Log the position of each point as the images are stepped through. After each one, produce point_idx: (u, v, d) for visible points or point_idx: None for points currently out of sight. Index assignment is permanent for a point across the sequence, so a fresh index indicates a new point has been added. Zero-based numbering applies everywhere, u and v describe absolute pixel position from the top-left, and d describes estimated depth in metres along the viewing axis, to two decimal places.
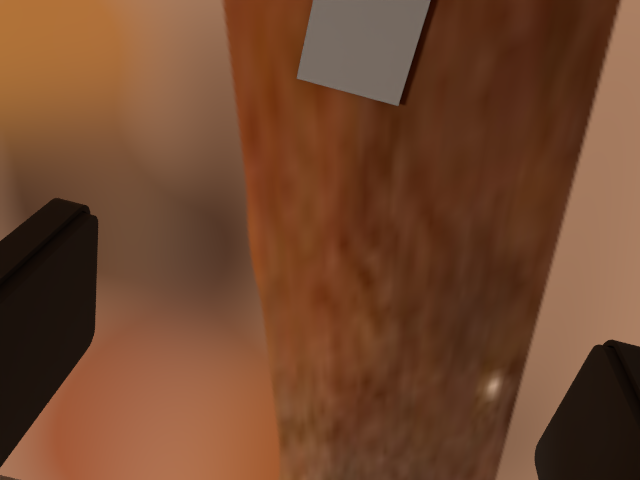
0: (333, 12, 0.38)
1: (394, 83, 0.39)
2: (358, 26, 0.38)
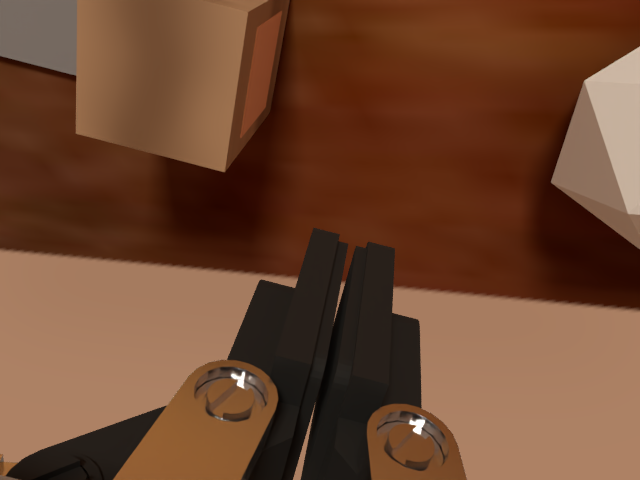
0: None
1: None
2: None
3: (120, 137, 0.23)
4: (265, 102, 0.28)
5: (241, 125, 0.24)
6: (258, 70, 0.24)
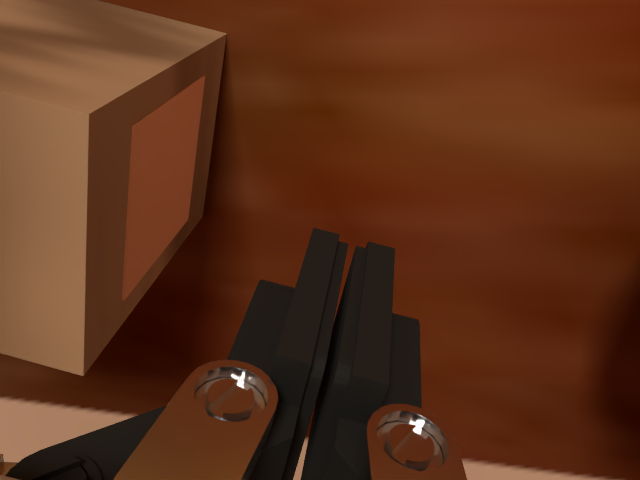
0: None
1: None
2: None
3: None
4: (186, 213, 0.18)
5: (121, 283, 0.14)
6: (153, 186, 0.14)
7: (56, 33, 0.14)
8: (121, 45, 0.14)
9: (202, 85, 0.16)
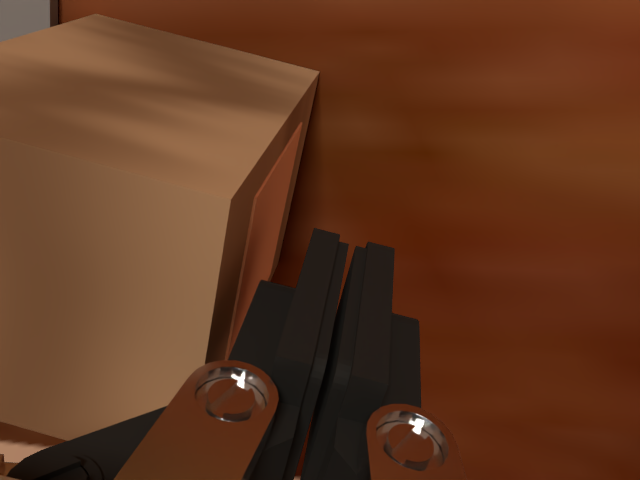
0: None
1: None
2: None
3: None
4: (270, 267, 0.16)
5: None
6: (257, 252, 0.13)
7: (152, 82, 0.12)
8: (224, 95, 0.12)
9: (299, 132, 0.14)
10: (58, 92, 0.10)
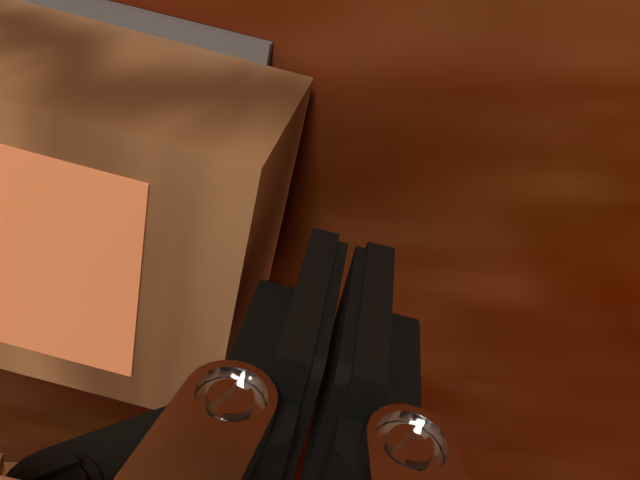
0: None
1: None
2: None
3: None
4: (122, 362, 0.12)
5: None
6: None
7: (95, 64, 0.12)
8: (79, 86, 0.11)
9: (138, 194, 0.10)
10: (38, 33, 0.13)
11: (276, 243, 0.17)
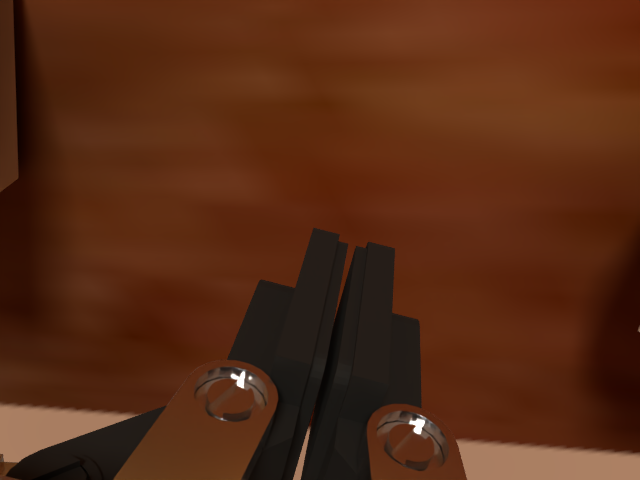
0: None
1: None
2: None
3: None
4: None
5: None
6: None
7: None
8: None
9: None
10: None
11: (15, 145, 0.19)
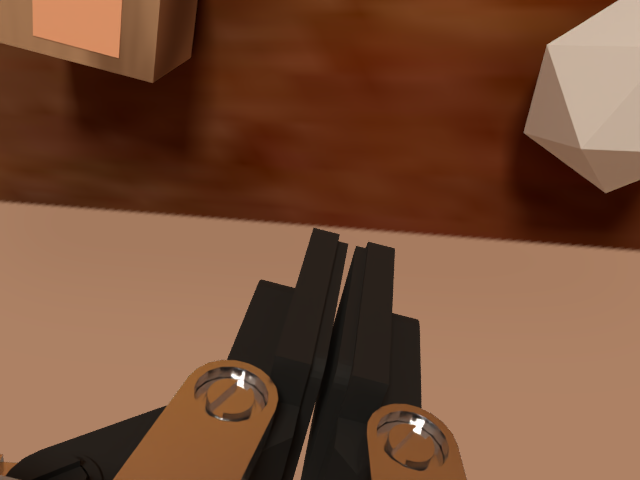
0: None
1: None
2: None
3: None
4: (115, 50, 0.29)
5: (31, 22, 0.29)
6: None
7: None
8: None
9: None
10: None
11: (192, 37, 0.35)
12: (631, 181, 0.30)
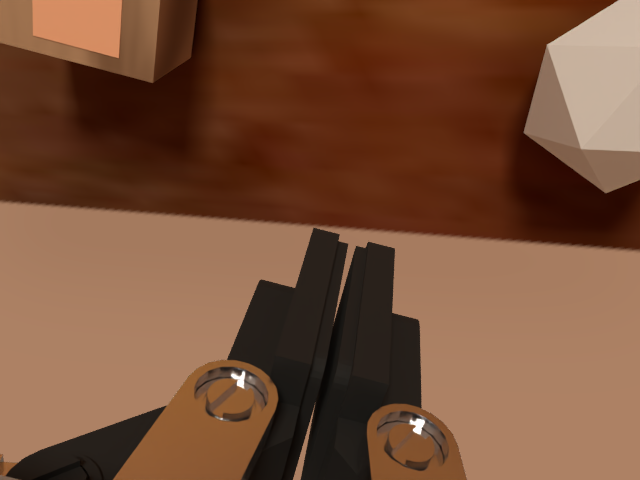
0: None
1: None
2: None
3: None
4: (115, 50, 0.29)
5: (31, 22, 0.29)
6: None
7: None
8: None
9: None
10: None
11: (192, 37, 0.35)
12: (631, 181, 0.30)
